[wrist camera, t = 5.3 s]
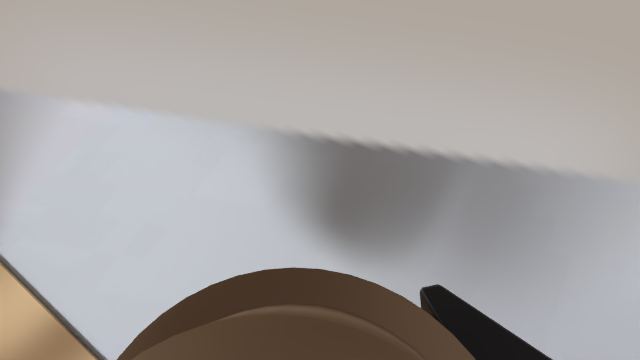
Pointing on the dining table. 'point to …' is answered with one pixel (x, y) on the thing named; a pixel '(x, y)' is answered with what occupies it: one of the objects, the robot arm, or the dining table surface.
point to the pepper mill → (295, 322)
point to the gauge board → (33, 327)
